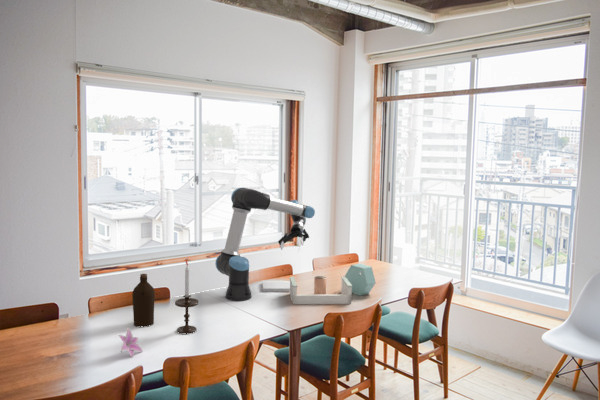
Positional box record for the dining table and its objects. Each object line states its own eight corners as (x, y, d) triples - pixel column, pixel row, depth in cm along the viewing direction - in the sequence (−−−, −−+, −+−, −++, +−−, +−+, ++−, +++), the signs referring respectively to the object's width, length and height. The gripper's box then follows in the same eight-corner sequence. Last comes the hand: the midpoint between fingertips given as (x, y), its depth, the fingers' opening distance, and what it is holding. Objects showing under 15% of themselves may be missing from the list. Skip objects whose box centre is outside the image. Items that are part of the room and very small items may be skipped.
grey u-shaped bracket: (292, 304, 281) (292, 285, 280) (289, 293, 301) (289, 276, 300) (351, 303, 285) (352, 285, 284) (344, 293, 305) (345, 276, 304)
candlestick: (177, 336, 229) (177, 262, 226) (173, 328, 239) (173, 257, 235) (200, 333, 234) (201, 260, 230) (195, 325, 243) (196, 256, 240)
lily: (116, 364, 200) (127, 345, 199) (104, 345, 208) (115, 327, 207) (140, 364, 210) (151, 345, 209) (128, 345, 217) (139, 328, 216)
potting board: (263, 291, 304) (263, 288, 304) (262, 283, 322) (262, 280, 322) (292, 291, 306) (292, 288, 306) (289, 283, 324) (289, 280, 324)
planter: (365, 299, 310) (380, 276, 299) (356, 301, 305) (371, 278, 294) (349, 280, 320) (363, 257, 309) (341, 281, 315) (355, 258, 304)
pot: (314, 300, 289) (315, 279, 288) (313, 297, 296) (313, 275, 295) (326, 300, 290) (327, 279, 288) (324, 297, 297) (325, 275, 295)
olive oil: (158, 324, 243) (158, 275, 241) (138, 329, 236) (138, 278, 234) (148, 318, 251) (148, 270, 248) (128, 323, 244) (128, 273, 241)
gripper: (316, 229, 319) (312, 246, 300) (281, 238, 326) (274, 255, 307) (313, 219, 316) (308, 236, 297) (277, 228, 323) (270, 244, 304)
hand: (291, 245), depth 302 cm, fingers open, 13 cm apart
